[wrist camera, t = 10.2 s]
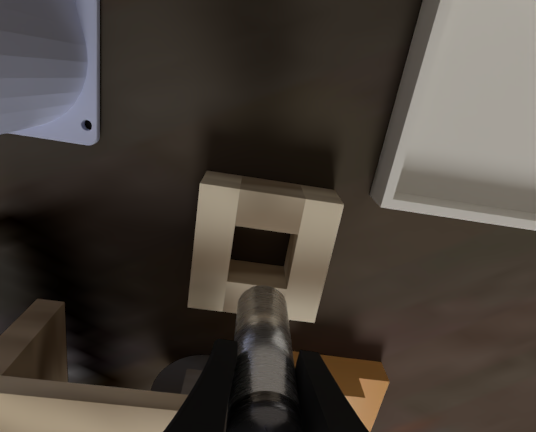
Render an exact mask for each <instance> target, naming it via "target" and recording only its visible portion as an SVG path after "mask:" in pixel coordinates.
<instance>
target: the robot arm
mask: <svg viewBox="0 0 536 432" xmlns="http://www.w3.org/2000/svg"><path fill="white" fill-rule="evenodd" d="M86 120H88V121H90V122H91V124H92V129H91V130H89V129H87V128H86V127H85V121H86ZM4 133H10V134H17V135H23V136H30V137H36V138H43V139H49V140H56V141H62V142H69V143H75V144H82V145H93V144H95V143H97V142H98V140H99V138H100V0H0V134H4ZM237 351H238V341H231V340H224V339H217V340H215V341H214V344H213V348H212V351H211V354H210V356H209V358H208V361H207V363H206V365H205V367H204V369H203V371H202V373H201V374H200V376H199V378H198V380H197V381H196V383H195V385H194V387H193V388H192V390H191V392H190V393H189V395H188V396H187V398H186V400H185V401H184V403H183V404H182V406H181V407H180V409H179V410H178V412H177V413H176V415H175V416H174V417H173V419H172V420H171V422H170V423H169V424H168V426H167V427H166V428H165V430H164V431H163V432H224V426H225V419H226V412H227V407H228V402H229V397H230V392H231V387H232V382H233V377H234V372H235V367H236V362H237ZM295 375H296V382H297V390H298V398H299V406H300V414H301V422H302V430H303V432H369V431H368V430H367V428H366V427H365V425H364V424H363V423H362V421H361V420H360V418H359V417H358V415H357V414H356V412H355V411H354V409H353V408H352V406H351V405H350V403H349V402H348V400H347V399H346V397H345V395H344V394H343V392H342V391H341V389H340V387H339V386H338V384H337V383H336V381H335V379H334V378H333V376H332V374H331V372H330V371H329V369H328V367H327V366H326V364H325V362H324V361H323V359H322V357H321V356H320V354H319V353H318V352H311V351H303V350H300V351H299V355H298V359H297V362H296V366H295Z"/></svg>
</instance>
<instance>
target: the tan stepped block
mask: <svg viewBox="0 0 536 432" xmlns="http://www.w3.org/2000/svg"><path fill="white" fill-rule="evenodd" d="M298 355H299V352H296V351H293V359H294V367H295V366H296V362H297V359H298ZM320 356H321V357H322V359H323V361H324V362H325V364H326V366H327V367H328V369H329V371H330V372H331V374H332V376H333V378H334V379H335V381H336V383H337V384H338V386H339V387H340V389H341V391H342V392H343V394H344V395H345V397H346V399H347V400H348V402H349V403H350V405H351V406H352V408H353V409H354V411H355V412H356V414H357V415H358V417H359V418H360V420H361V421H362V423H363V424H364V425H365V427H366V428H367V430H368V431H371V429H372V426H373V424H374V421H375V419H376V416H377V413H378V411H379V408H380V405H381V403H382V400H383V398H384V395H385V392H386V390H387V387H388V384H389V379H388V377H387V375H386V372H385V370H384V368H383V365H382V363H381V362H377V361H369V360H361V359H352V358H344V357H336V356H328V355H320Z"/></svg>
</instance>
